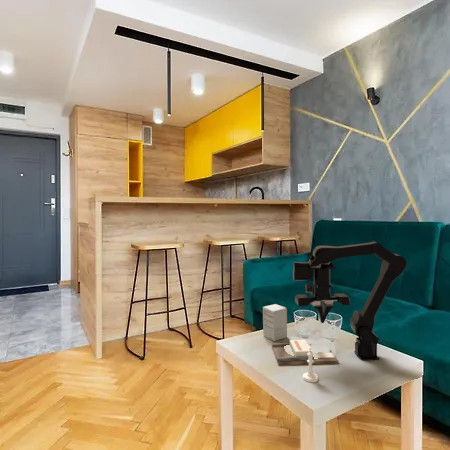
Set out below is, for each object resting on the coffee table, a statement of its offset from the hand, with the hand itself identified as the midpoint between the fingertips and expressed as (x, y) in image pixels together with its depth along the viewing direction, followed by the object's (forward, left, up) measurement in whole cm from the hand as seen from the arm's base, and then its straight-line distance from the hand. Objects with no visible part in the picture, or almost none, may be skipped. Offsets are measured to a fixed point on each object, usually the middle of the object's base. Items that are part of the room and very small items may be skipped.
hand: (322, 322), depth 121 cm
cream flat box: (+8, 0, -11) cm, 13 cm away
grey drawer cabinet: (+15, -18, -12) cm, 26 cm away
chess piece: (+9, +16, -12) cm, 22 cm away
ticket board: (+7, 0, -12) cm, 14 cm away
